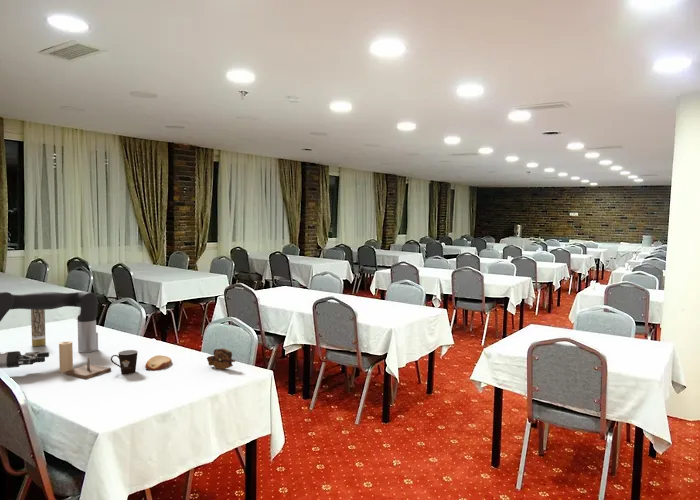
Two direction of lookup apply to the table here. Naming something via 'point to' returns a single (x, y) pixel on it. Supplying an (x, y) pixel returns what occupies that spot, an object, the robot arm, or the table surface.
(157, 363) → the pita bread
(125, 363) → the coffee mug
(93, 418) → the table surface
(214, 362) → the wooden carving
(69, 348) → the cylinder
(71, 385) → the table surface
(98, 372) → the stand
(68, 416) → the table surface
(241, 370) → the table surface
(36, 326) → the paper tube
